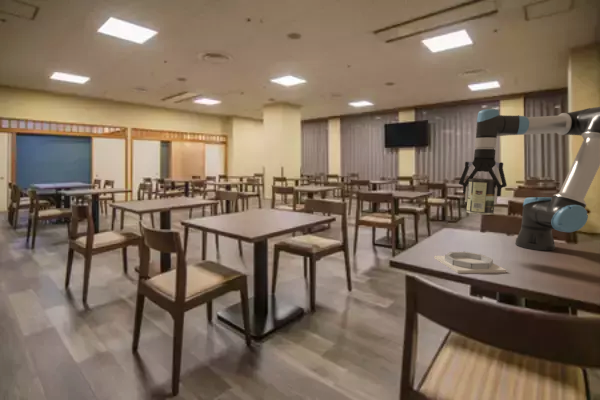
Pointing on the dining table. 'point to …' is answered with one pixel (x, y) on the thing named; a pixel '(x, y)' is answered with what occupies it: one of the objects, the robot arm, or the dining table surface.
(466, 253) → the can holder
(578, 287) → the dining table surface
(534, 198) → the robot arm
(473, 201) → the coffee can
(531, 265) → the dining table surface
